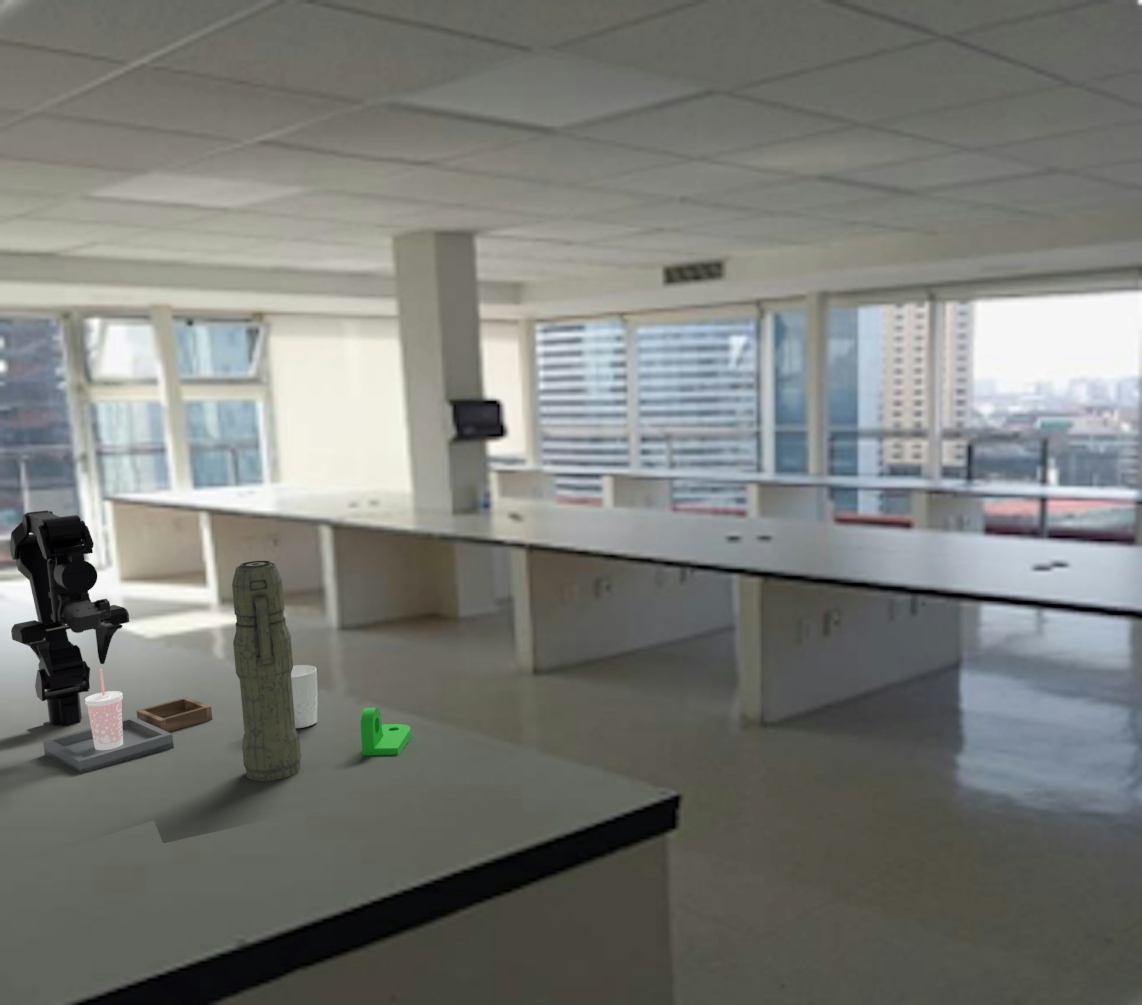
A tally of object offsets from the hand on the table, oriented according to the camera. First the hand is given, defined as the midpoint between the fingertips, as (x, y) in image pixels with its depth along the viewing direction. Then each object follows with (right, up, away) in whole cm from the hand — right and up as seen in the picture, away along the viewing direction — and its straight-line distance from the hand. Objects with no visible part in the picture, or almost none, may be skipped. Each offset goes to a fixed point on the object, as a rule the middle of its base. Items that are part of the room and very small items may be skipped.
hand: (76, 669), depth 189 cm
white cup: (+39, -11, +5) cm, 41 cm away
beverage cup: (+9, -13, -6) cm, 16 cm away
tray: (+9, -13, -6) cm, 17 cm away
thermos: (+42, -14, -22) cm, 49 cm away
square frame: (+15, -11, +9) cm, 20 cm away
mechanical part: (+59, -12, -10) cm, 61 cm away
